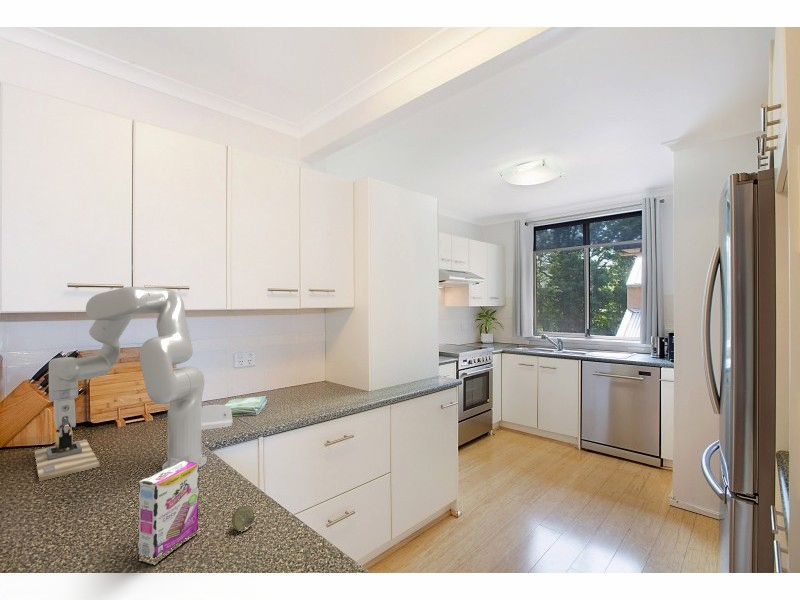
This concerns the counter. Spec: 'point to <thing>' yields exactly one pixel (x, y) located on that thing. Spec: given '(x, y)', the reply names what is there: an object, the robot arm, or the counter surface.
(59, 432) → the hinge barrel
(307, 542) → the counter surface
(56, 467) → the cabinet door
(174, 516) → the candy bar box
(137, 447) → the counter surface
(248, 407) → the towel
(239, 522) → the lime
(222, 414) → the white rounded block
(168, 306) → the robot arm
